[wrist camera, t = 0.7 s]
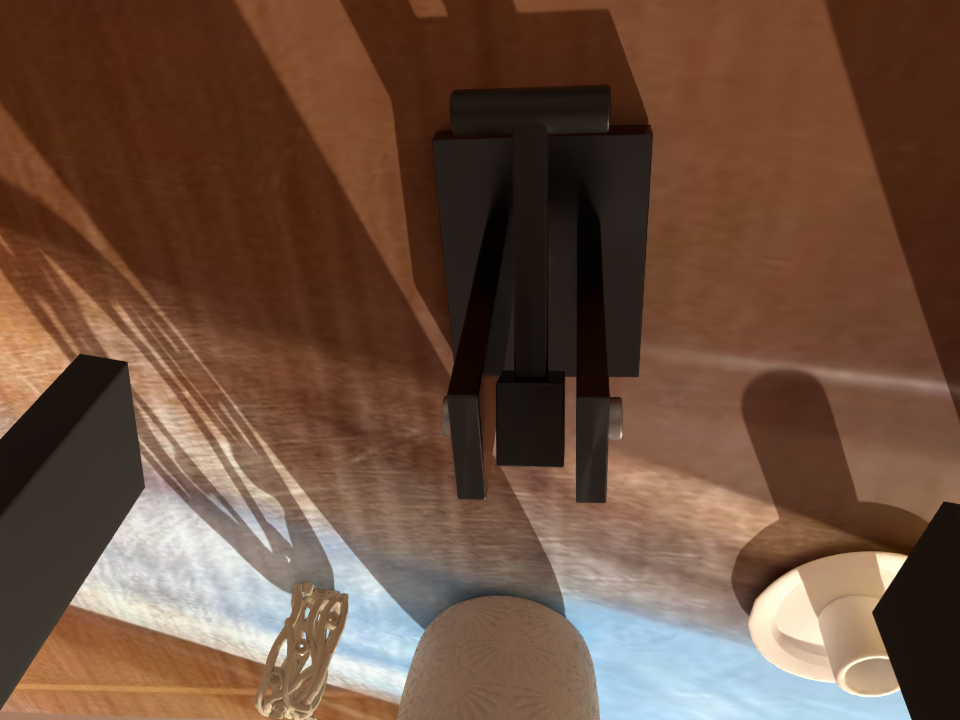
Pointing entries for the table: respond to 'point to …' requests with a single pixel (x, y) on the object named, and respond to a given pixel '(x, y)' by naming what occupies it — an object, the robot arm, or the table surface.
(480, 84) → the table surface
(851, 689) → the candle holder
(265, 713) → the bracelet
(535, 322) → the lever
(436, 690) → the planter
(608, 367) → the bracket
